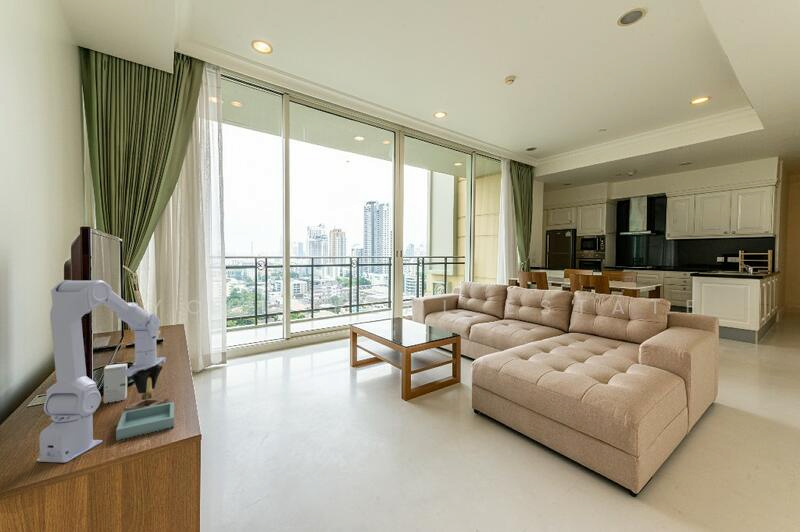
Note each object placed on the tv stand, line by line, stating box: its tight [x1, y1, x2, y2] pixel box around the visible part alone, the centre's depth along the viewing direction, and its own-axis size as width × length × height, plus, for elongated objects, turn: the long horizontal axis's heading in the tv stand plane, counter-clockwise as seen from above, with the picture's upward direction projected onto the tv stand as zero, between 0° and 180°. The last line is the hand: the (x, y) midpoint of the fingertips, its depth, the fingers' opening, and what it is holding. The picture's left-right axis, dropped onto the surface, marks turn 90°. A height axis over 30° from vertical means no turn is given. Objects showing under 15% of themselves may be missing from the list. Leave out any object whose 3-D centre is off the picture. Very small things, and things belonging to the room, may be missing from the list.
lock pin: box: [140, 376, 153, 400], centre depth 112 cm, size 3×3×7 cm
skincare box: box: [103, 362, 128, 404], centre depth 118 cm, size 6×4×12 cm
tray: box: [115, 401, 175, 442], centre depth 100 cm, size 13×13×3 cm
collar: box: [123, 396, 170, 412], centre depth 112 cm, size 8×8×2 cm
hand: (146, 390), depth 112 cm, fingers closed on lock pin, 3 cm apart
